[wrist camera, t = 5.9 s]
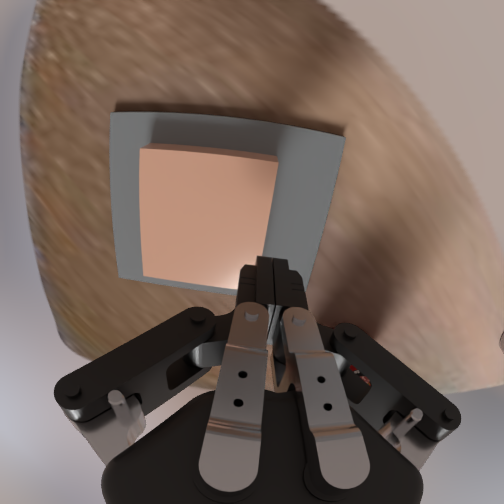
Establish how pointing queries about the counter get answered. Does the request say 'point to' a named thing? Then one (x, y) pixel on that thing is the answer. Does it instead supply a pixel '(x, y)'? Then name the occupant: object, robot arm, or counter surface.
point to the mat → (234, 138)
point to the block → (203, 211)
